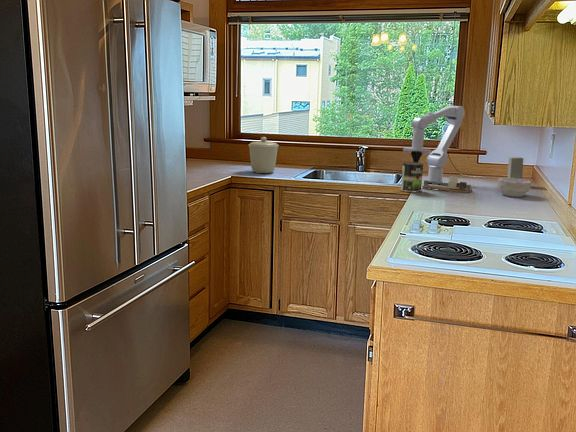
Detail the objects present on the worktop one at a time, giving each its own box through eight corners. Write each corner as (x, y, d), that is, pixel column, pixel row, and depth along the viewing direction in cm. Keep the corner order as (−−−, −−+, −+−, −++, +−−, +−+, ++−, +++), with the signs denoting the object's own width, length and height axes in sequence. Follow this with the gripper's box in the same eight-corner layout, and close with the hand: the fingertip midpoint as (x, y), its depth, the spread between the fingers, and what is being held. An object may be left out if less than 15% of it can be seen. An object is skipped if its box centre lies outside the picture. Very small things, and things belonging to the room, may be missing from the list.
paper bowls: (532, 195, 279) (534, 179, 277) (525, 199, 266) (527, 183, 264) (500, 191, 287) (502, 176, 285) (493, 195, 275) (495, 179, 273)
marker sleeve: (449, 187, 288) (450, 176, 287) (457, 187, 286) (458, 176, 285) (448, 188, 285) (449, 176, 284) (455, 188, 283) (456, 177, 282)
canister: (265, 169, 340) (266, 135, 335) (284, 173, 327) (285, 137, 322) (241, 171, 329) (242, 136, 324) (260, 175, 315) (260, 138, 311)
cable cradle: (425, 185, 297) (426, 177, 296) (471, 190, 286) (472, 181, 285) (421, 188, 288) (421, 179, 287) (468, 193, 278) (469, 184, 277)
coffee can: (425, 192, 279) (427, 164, 276) (408, 192, 275) (410, 164, 272) (413, 188, 289) (415, 161, 285) (396, 189, 285) (398, 162, 282)
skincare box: (521, 187, 301) (525, 158, 297) (508, 186, 302) (511, 157, 299) (518, 184, 309) (522, 156, 305) (505, 183, 310) (508, 155, 307)
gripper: (402, 139, 293) (400, 165, 296) (429, 142, 287) (427, 167, 290) (406, 139, 299) (403, 164, 302) (432, 141, 293) (430, 166, 296)
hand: (415, 165), depth 296 cm, fingers closed
